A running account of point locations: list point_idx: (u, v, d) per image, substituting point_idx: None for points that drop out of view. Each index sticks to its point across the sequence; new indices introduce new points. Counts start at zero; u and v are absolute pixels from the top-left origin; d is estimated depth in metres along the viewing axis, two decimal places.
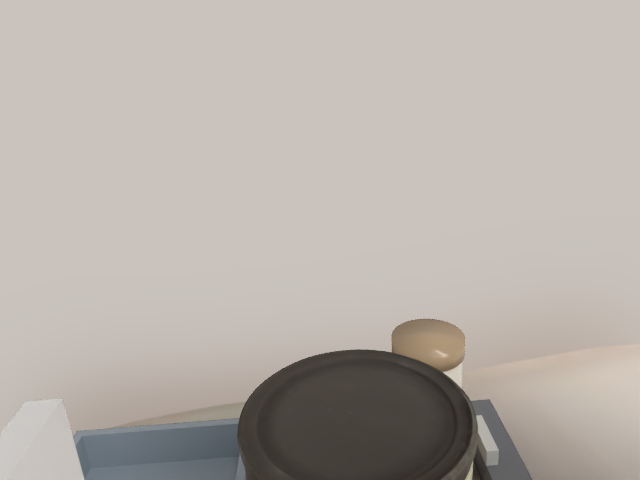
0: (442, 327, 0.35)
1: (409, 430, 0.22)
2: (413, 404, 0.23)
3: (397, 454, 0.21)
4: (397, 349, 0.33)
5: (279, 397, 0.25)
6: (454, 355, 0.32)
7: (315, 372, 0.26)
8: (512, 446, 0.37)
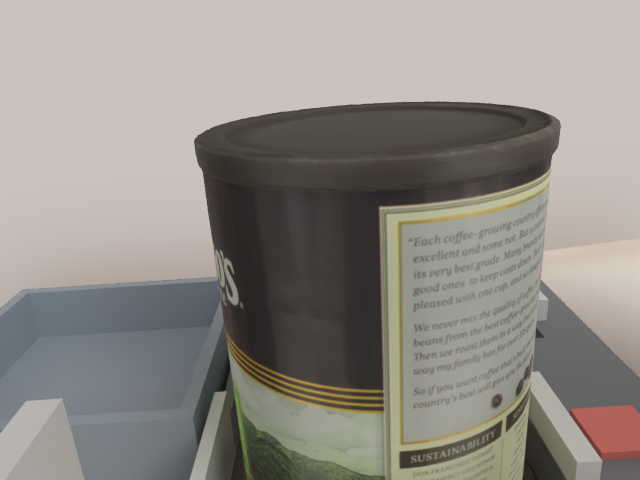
0: None
1: (454, 127, 0.14)
2: (456, 119, 0.16)
3: (437, 137, 0.13)
4: None
5: (261, 127, 0.17)
6: None
7: (313, 116, 0.19)
8: (562, 304, 0.29)
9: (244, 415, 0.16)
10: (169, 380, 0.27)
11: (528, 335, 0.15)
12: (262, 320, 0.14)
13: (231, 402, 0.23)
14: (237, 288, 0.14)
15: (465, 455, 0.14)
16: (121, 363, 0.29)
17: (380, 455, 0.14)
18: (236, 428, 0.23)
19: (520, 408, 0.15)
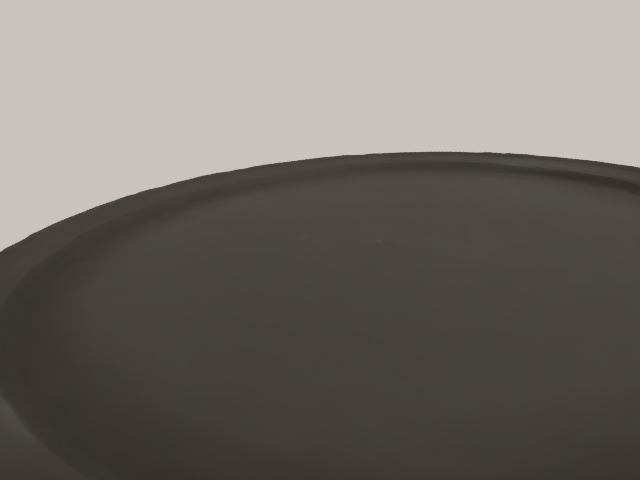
0: None
1: (624, 271, 0.05)
2: (591, 219, 0.07)
3: (623, 342, 0.04)
4: None
5: (156, 221, 0.08)
6: None
7: (274, 185, 0.10)
8: None
9: None
10: None
11: None
12: None
13: None
14: None
15: None
16: None
17: None
18: None
19: None
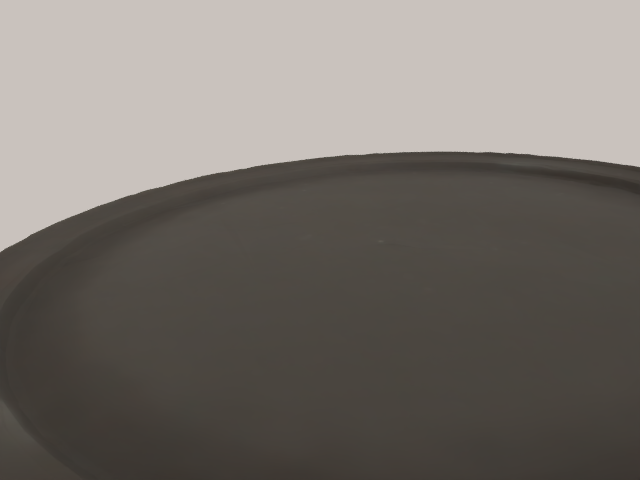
0: None
1: (629, 271, 0.05)
2: (594, 219, 0.07)
3: (629, 345, 0.04)
4: None
5: (157, 222, 0.08)
6: None
7: (275, 185, 0.10)
8: None
9: None
10: None
11: None
12: None
13: None
14: None
15: None
16: None
17: None
18: None
19: None
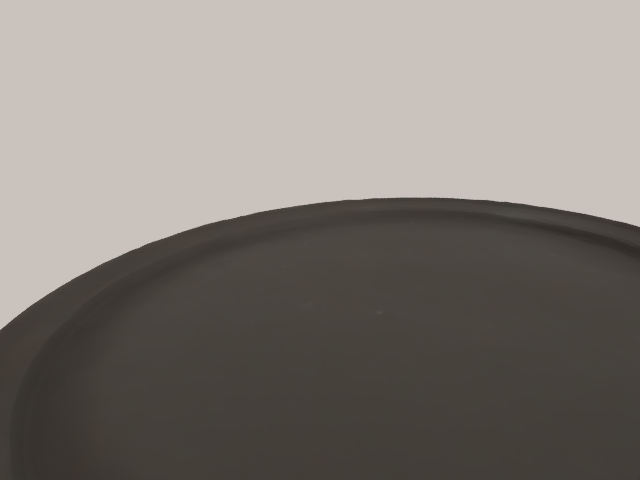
0: None
1: (615, 359, 0.06)
2: (585, 289, 0.07)
3: (614, 451, 0.04)
4: None
5: (162, 282, 0.08)
6: None
7: (276, 235, 0.10)
8: None
9: None
10: None
11: None
12: None
13: None
14: None
15: None
16: None
17: None
18: None
19: None
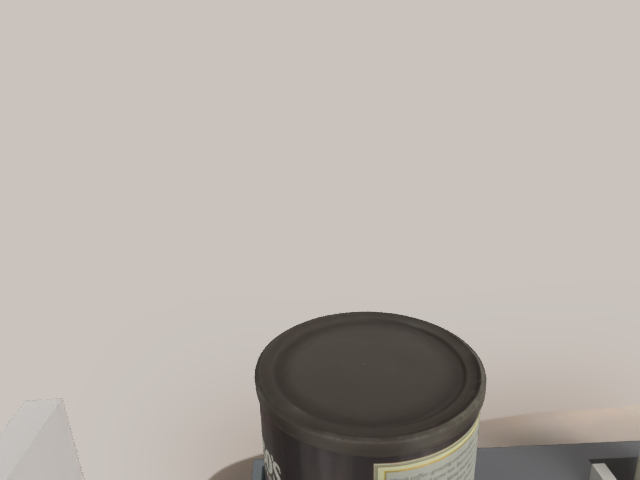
0: None
1: (421, 379, 0.23)
2: (423, 358, 0.24)
3: (409, 398, 0.22)
4: None
5: (294, 349, 0.26)
6: None
7: (327, 329, 0.27)
8: None
9: None
10: None
11: None
12: None
13: None
14: None
15: None
16: None
17: None
18: None
19: None
